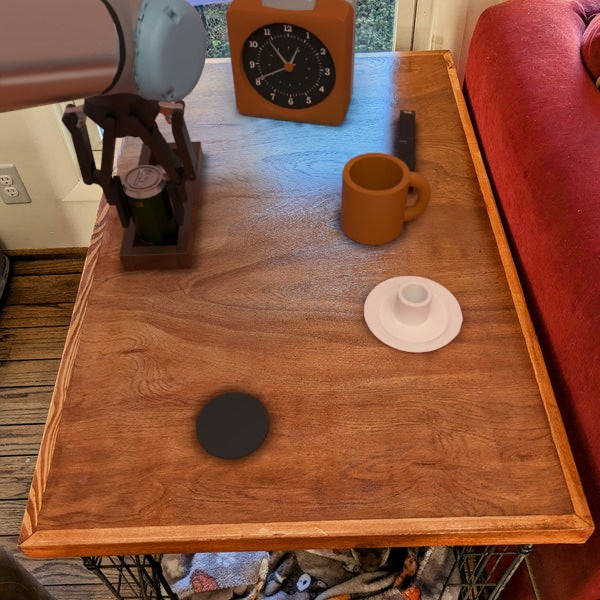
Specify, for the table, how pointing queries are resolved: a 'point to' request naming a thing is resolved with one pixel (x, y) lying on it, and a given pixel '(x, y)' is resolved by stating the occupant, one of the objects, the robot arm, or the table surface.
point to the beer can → (150, 206)
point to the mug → (379, 197)
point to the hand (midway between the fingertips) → (154, 219)
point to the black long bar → (407, 140)
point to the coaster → (232, 425)
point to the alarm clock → (293, 58)
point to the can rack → (183, 251)
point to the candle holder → (413, 314)
